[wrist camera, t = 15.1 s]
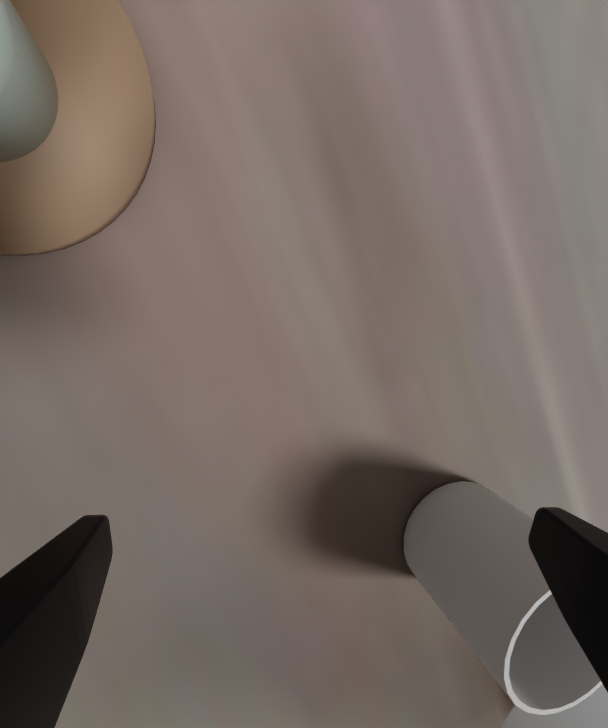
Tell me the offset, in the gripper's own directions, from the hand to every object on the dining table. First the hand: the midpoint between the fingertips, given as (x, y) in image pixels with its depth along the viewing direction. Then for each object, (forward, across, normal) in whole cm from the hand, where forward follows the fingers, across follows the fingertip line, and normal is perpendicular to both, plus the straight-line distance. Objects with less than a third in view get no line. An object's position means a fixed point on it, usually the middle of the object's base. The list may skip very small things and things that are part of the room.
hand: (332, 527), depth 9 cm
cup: (+14, -12, +13) cm, 23 cm away
